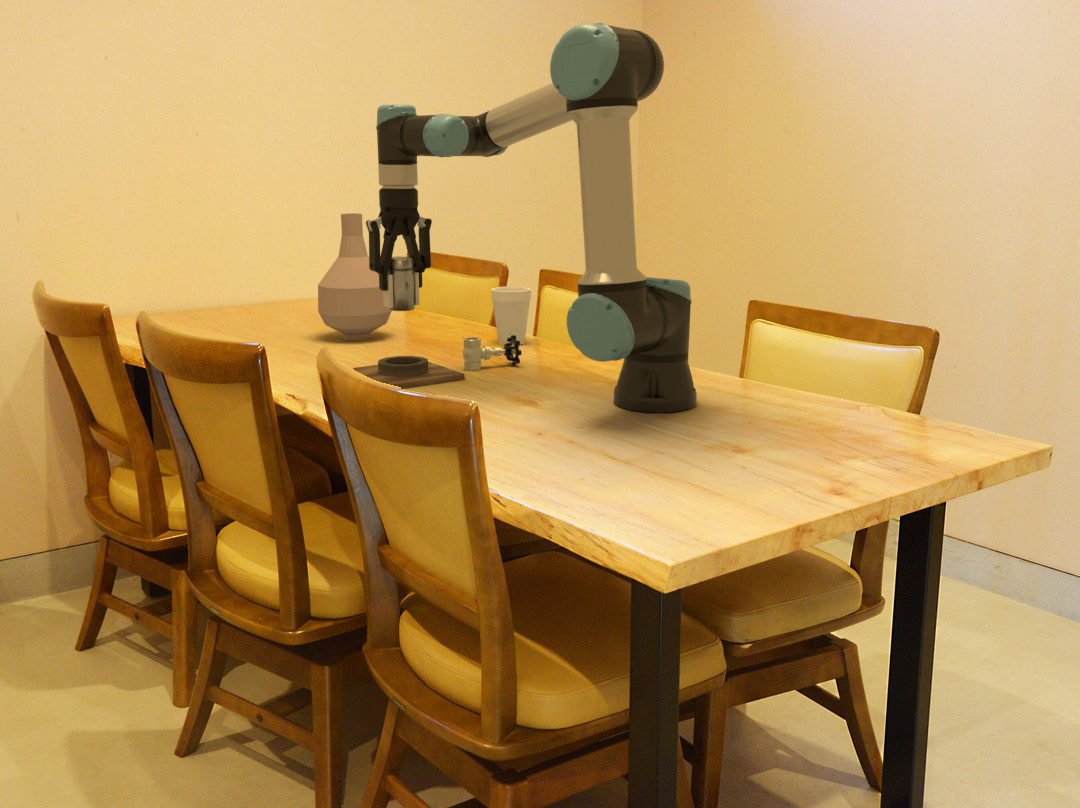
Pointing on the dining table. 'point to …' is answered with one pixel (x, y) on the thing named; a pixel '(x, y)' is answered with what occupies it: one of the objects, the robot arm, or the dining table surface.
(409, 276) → the cylinder
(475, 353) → the valve
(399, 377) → the ring block
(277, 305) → the dining table surface
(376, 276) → the vase
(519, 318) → the foam cup
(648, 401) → the robot arm
